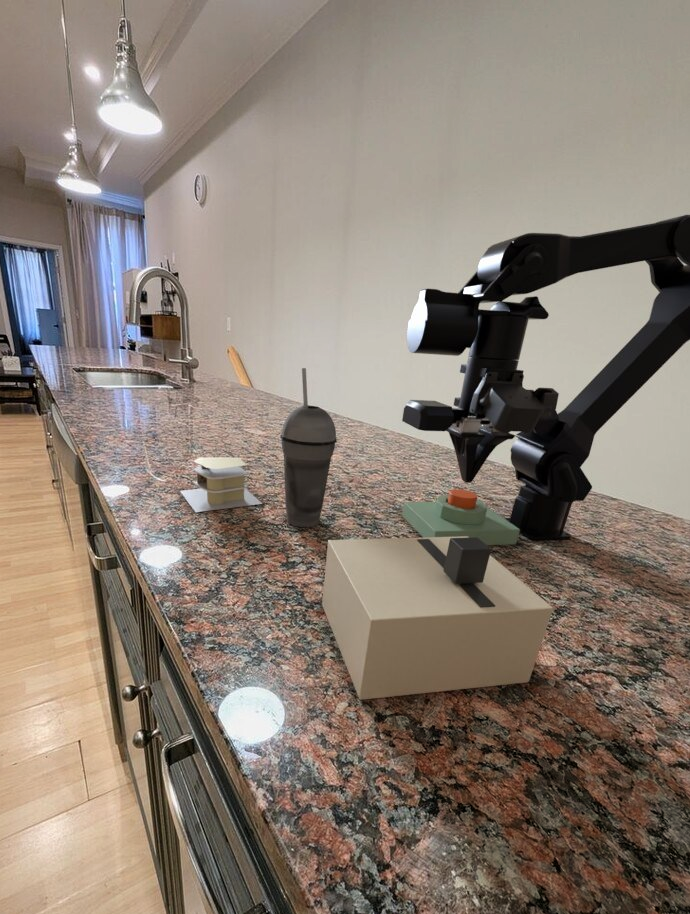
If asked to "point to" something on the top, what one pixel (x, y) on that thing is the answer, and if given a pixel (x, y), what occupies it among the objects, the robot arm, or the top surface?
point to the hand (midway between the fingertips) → (466, 481)
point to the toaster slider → (466, 560)
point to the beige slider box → (427, 619)
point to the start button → (462, 499)
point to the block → (459, 521)
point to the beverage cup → (306, 460)
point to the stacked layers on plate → (219, 485)
